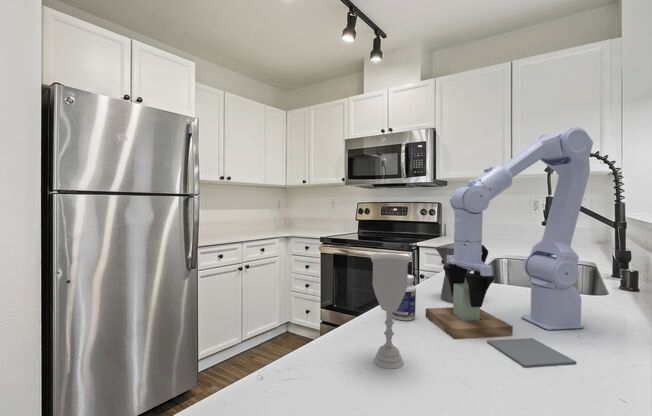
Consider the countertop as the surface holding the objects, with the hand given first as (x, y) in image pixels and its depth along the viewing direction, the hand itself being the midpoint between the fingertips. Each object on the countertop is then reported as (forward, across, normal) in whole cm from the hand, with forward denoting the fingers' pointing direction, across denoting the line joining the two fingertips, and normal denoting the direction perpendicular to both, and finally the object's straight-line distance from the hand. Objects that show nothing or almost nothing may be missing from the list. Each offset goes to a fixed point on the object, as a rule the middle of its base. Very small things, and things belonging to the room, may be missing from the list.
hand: (466, 301), depth 75 cm
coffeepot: (+6, -19, +10) cm, 22 cm away
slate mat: (+5, +14, +4) cm, 16 cm away
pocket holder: (+6, 0, 0) cm, 6 cm away
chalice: (+6, +14, -23) cm, 27 cm away
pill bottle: (+6, -7, -12) cm, 15 cm away
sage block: (+6, 0, 0) cm, 6 cm away
